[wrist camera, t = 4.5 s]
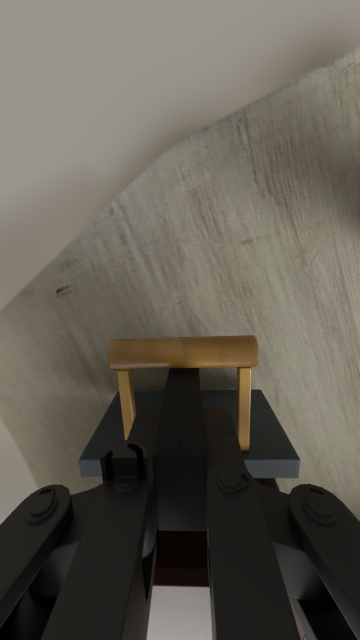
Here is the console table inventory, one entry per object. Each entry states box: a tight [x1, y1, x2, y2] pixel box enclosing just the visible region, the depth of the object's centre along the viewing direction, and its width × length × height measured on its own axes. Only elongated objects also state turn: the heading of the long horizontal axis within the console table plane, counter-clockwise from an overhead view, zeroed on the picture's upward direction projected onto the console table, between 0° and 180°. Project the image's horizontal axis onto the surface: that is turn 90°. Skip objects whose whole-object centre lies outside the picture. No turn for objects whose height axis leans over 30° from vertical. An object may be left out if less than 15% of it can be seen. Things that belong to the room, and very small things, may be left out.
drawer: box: [79, 335, 300, 569], centre depth 16 cm, size 20×11×7 cm, turn 3°
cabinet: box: [147, 568, 304, 640], centre depth 19 cm, size 15×13×9 cm
